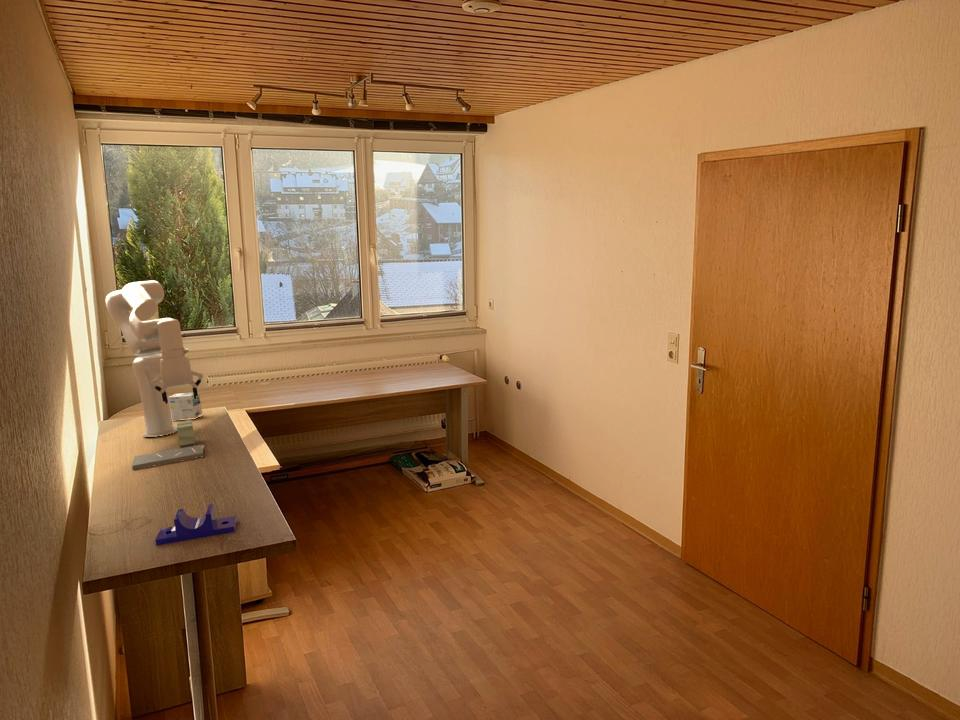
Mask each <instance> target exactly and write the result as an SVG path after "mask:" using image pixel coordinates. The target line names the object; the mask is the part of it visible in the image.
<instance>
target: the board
mask: <svg viewBox="0 0 960 720" xmlns="http://www.w3.org/2000/svg"><path fill="white" fill-rule="evenodd" d="M204 447H205V445H203V444H195V446H190V447H184V448H180V447H179V448H174V449H167V450H163V451H157V452H150V453H147V454H145V453H144V454H141V455H134V458H133V461H132V464H131V467H132V471H134V470H135V469H136V470H140V469H139V468H141V469H145V468H144V467H147V468H149V467H148V466H152V467H154V466H153V465H158V466H160V465H159V464H163V465H168V464H167V463H169V464H173V463H172V462H174V463H178V462H177V461H179V462H182V461H181V460H185V461H188V460H187V459H190V460H192V459H191V458H195V457H201V456H204V457H205V455H204V454H205V453H203V452H204ZM201 458H202V457H201Z"/></svg>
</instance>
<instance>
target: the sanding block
mask: <svg viewBox="0 0 960 720" xmlns="http://www.w3.org/2000/svg"><path fill="white" fill-rule="evenodd" d="M176 424H177V426H176V427H177V435H178V443H179V448H184V447H190V446H194V445H195V446H196V436H195V431H194V425H193V420H186V421H177V423H176Z"/></svg>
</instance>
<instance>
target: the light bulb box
mask: <svg viewBox="0 0 960 720" xmlns="http://www.w3.org/2000/svg"><path fill="white" fill-rule="evenodd" d="M197 392H198V396H196V399H194V394H193V392H182V393H174V394H173V395H170V396H168V401H169V406H170V412H171V418H172V420H179V419H188V418H196V417H198V416H199V415H201V414H202V413H203V409H202V408H203V407H202V402H201V397H200V392H199V391H197Z"/></svg>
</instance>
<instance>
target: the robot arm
mask: <svg viewBox="0 0 960 720" xmlns="http://www.w3.org/2000/svg"><path fill="white" fill-rule="evenodd" d="M164 297H165V291H164V288H163V285H162V284H161V283H160V282H159V281H157V280H142V281H133V282H128V283H127V284H125V285H124V286H123V287H122V289H118V290H114V291H112V292H110V293H108V294H107V295H106V297H105V306H106V308H107V311H108V314H109V316H110V317H111V319H112V320H113V321H114V323H115V324H116V325H117V326H118V327H119V329H120V331H121V334H122V336H123V338H124V341H125V344H126V345H127V348H128V351H130V353H131V354H132V355H133V356H136V357H135V359H133V361H132V366H131V367H132V370H133V374H134V376H135V378H136V382H137V386H138V389H139V390H138V391H139V395H140V400H141V407H142V412H143V418H144V423H145V429H146V430H145V431H144V432H143V433H142V438H145V437H155V436H160V435H167V434H170V433H173V432H175V431H177V426H174V425H173V421H172V415H171V409H170V404H169V396H168V391H167V389H168V388H169V387H170V388H171V387H178V386H183V385H188V384H189V385H190V386H192V393H193V394H194V399H196V396H198V392H199V391H198V386H199V385H200V384H201V383H202V380H203V378H204V374H203V373H200V372H197V371H194V370H192V366H191V362H190V360H189V357H188V355H186V354H187V353H189V348H185V347H184V342H183V337H182V330H181V323H180V321H179V320H178V319H176V318H171V317H163V318H156V319H155V318H154V319H151V318H152V317H154V316H155V315H156V314H157V312H158V309H159V306H158V305H159V304H161V302H162V301H163V300H164V299H165V298H164ZM130 311H131V312H130ZM193 376H194V377H198V378H197V379H196V380H197V381H194V377H193ZM177 432H178V431H177ZM175 433H176V432H175ZM173 434H174V433H173ZM170 435H171V434H170ZM167 436H168V435H167Z"/></svg>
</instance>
